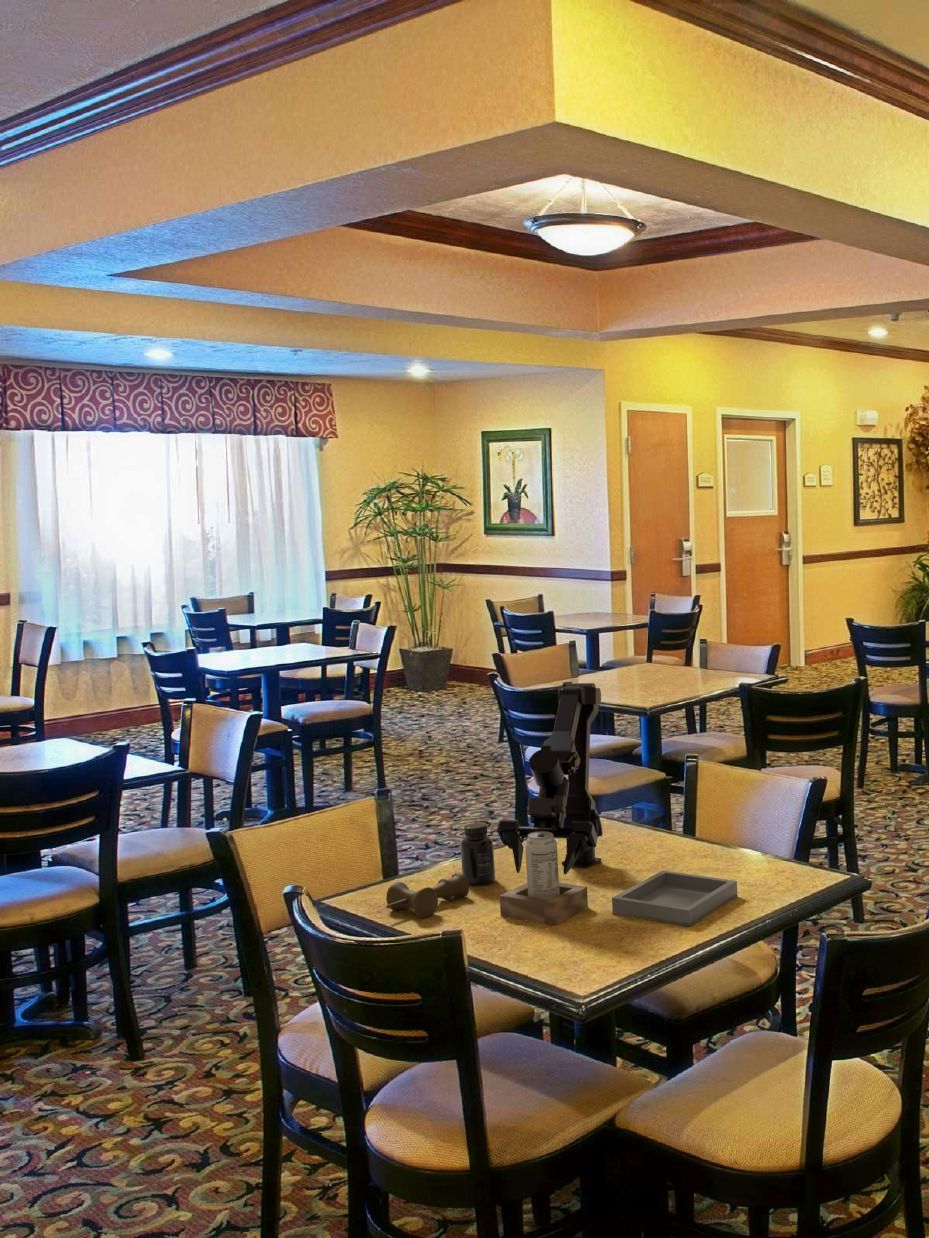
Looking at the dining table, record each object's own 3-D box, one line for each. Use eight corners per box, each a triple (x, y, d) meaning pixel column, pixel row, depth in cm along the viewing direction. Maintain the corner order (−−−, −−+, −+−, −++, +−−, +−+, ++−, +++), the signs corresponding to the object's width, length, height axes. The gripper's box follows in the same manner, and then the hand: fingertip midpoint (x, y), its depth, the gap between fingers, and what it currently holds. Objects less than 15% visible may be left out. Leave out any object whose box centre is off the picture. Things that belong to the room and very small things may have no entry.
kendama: (480, 902, 247) (403, 927, 233) (447, 895, 254) (371, 918, 240) (478, 872, 246) (401, 895, 233) (445, 866, 253) (369, 887, 240)
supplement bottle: (496, 876, 262) (493, 820, 261) (494, 886, 255) (491, 828, 254) (464, 877, 263) (461, 821, 262) (461, 887, 256) (457, 829, 255)
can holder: (536, 898, 245) (535, 878, 245) (588, 907, 238) (587, 886, 238) (500, 915, 236) (499, 895, 235) (553, 925, 229) (552, 904, 228)
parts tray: (663, 884, 249) (662, 870, 249) (737, 896, 240) (736, 880, 239) (612, 913, 234) (611, 897, 233) (689, 926, 224) (688, 910, 224)
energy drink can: (558, 905, 240) (554, 829, 239) (562, 915, 234) (558, 837, 233) (527, 907, 240) (523, 831, 239) (530, 917, 234) (526, 839, 233)
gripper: (496, 778, 242) (483, 849, 232) (591, 779, 236) (581, 852, 227) (509, 809, 250) (497, 878, 240) (601, 810, 244) (592, 882, 235)
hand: (541, 872), depth 235 cm, fingers open, 9 cm apart
